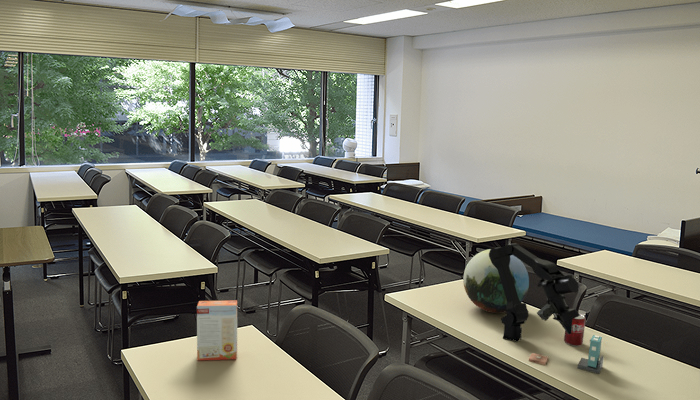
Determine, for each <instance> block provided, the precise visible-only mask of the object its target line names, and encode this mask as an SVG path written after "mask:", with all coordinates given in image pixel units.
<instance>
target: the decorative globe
mask: <svg viewBox="0 0 700 400" xmlns="http://www.w3.org/2000/svg"><path fill="white" fill-rule="evenodd" d="M491 249H492V248H489V249H485V250H482V251H480V252H478V253H476V254H475V255H474V256H473V257H471V259H470V260H469V261H468V263H467V265H466V266H465V269H464V271H463V272H464V273H463V287H464V291H465V293H466V295H467V297H468V298H469V300H470V301H471V302H472V303H473V305H475V306H476V307H478V308H479V309H481V310H482V311H486V312H488V313H492V314H499V313H500V314H501V313H506V306H507V300H506V296H505V293H504V290H503V286H502V283H501V280H500V276H499V273H498V270H497V268H496V267H495V266H494V265H493V264H492V262H491V260H490V258H489V252H490V250H491ZM510 259H511V260H510V264H509V268H510V271H511V275H512V278H513V281H514V285H515V288H516V291H517V294H518V298H519V300H520V301H521V302H522V303H523V301H524V300H525V298H526V297H527V294H528V291H529V286H530V277H529V273H528V270H527V268H526V266H525V263H524V262H522V261H521V260H519V259H518V258H516V257H515V256H513V255H511V256H510Z"/></svg>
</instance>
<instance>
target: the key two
mask: <svg viewBox="0 0 700 400" xmlns="http://www.w3.org/2000/svg"><path fill="white" fill-rule="evenodd" d="M602 339H603V336H599V335H596V334H595V335H594V334H593V335H592V337H591V338H590V341H589V351H588V358H587V359H588V365H587V366H591V367H595V368H596V367H597V365H598V362H599V360H600V358H601V355H600V354H601V348H602Z"/></svg>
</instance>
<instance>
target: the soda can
mask: <svg viewBox="0 0 700 400" xmlns="http://www.w3.org/2000/svg"><path fill="white" fill-rule="evenodd" d="M579 315H580V316H578V317H576V318H573V320H572V331H571V334H568V333H567V332H566V331H565V330H564V334H563V335H564V336H563V342H564V343H565V344H566V345H568V346H572V347H581V346H582V345H583V343H584V335H585V326H586V316H584V315H583V314H581V313H579Z"/></svg>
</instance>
